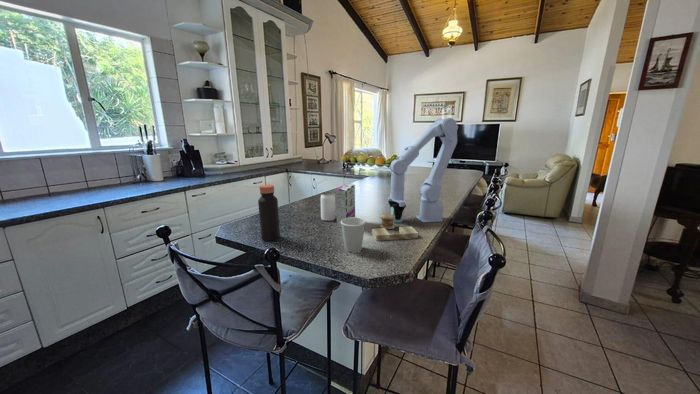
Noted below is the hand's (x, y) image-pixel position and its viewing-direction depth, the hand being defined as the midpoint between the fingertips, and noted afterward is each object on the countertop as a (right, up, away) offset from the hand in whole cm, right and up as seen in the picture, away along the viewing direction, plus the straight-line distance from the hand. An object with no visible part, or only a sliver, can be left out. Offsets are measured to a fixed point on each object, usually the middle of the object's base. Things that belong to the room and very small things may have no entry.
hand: (396, 217), depth 121 cm
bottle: (-50, -6, -18) cm, 54 cm away
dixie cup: (-19, -9, -27) cm, 35 cm away
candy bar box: (-22, -3, -3) cm, 23 cm away
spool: (-5, -3, -7) cm, 9 cm away
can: (-30, -1, +3) cm, 30 cm away
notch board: (-3, -6, -16) cm, 18 cm away
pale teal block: (0, -1, 0) cm, 1 cm away
